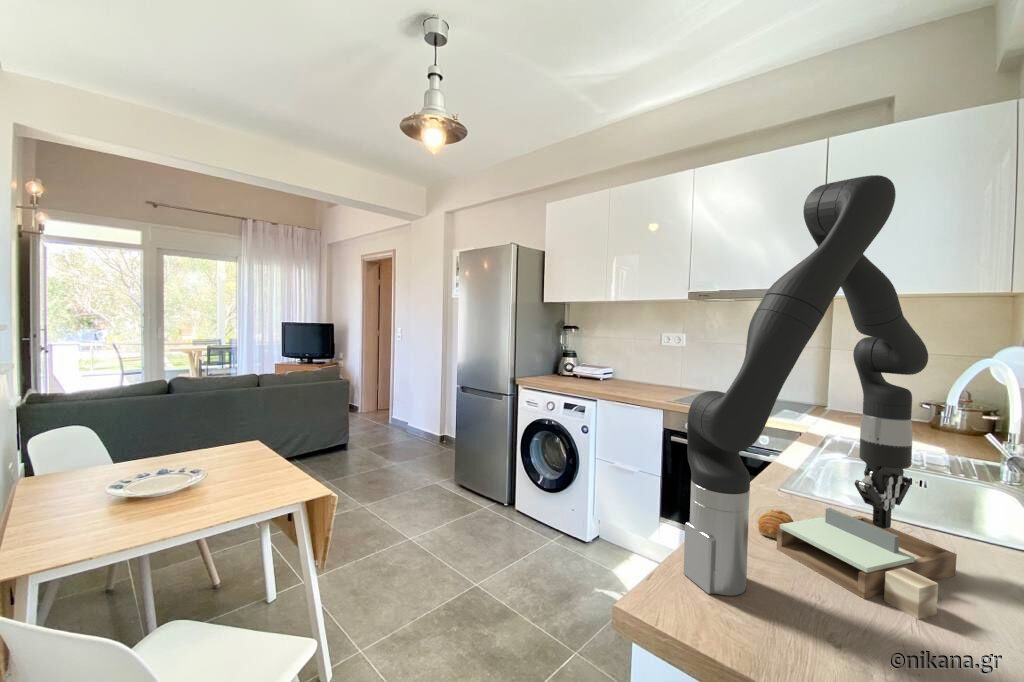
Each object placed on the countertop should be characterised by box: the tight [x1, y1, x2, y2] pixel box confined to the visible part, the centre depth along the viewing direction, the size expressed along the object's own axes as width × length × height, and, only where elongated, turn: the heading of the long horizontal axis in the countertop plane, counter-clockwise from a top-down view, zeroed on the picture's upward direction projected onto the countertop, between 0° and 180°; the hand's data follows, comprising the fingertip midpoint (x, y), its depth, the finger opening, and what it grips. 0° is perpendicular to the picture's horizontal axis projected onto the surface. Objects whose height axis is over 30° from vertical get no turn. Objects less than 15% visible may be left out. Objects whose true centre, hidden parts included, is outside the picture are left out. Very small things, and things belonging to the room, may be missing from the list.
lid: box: [780, 507, 915, 573], centre depth 78 cm, size 12×16×4 cm
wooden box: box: [776, 515, 957, 600], centre depth 80 cm, size 24×16×4 cm, turn 107°
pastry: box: [757, 509, 795, 540], centre depth 91 cm, size 9×7×4 cm
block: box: [883, 568, 939, 620], centre depth 66 cm, size 4×4×5 cm
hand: (881, 526), depth 81 cm, fingers closed
